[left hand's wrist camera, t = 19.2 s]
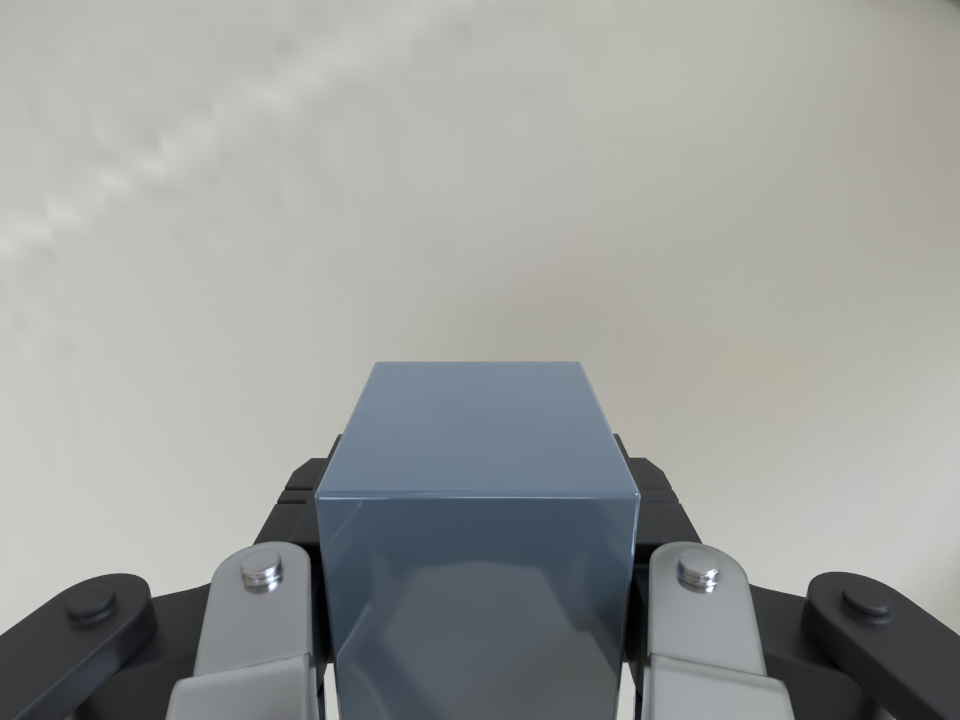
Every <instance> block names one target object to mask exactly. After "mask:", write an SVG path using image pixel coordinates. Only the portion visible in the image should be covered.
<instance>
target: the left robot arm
mask: <svg viewBox="0 0 960 720" xmlns="http://www.w3.org/2000/svg"><path fill="white" fill-rule="evenodd" d="M342 435H343V434H339V435H338V437H337V439H336V441H335V443H334V445H333V447H332V449H331V451H330V453H329V456H328V458H311V459H310V460H309V461H307V462H306V463H305V464H303V465H302V466H301V467H299V468H298V469H297V470H295V471H294V472H293V474H292V475H291V477H290V479H289V481H288V483H287V484H286V486H285V491H283V492H282V493H281V495H280V497H279V499H278V501H277V504H275V506H274V508H273V510H272V511H271V513H270V515H269V517H268V519H267V520H266V522H265V524H264V526H263V528H262V529H261V531H260V533H259V535H258V537H257V538H256V540H255V542H254V544H253V545H252V546H249V547H247V548H244V549H242V550H240V551H238V552H236V553H234V554H233V555H231V556H230V557H228V558H227V559H226V560H224V561H223V562H222V563H221V564H220V565H219V567H218V568H217V569H216V571H215V573H214V575H213V578H212V581H211V583H209V584H206V585H203V586H201V587H197V588H194V589H190V590H186V591H181V592H176V593H172V594H167V595H163V596H158V597H154V598H152V597H151V593H150V589H149V586H148V584H147V582H146V581H145V580H144V579H142V578H141V577H139V576H136V575H132V574H123V573H118V574H108V575H102V576H98V577H95V578H91V579H88V580H85V581H83V582H80V583H78V584H76V585H74V586H72V587H70V588H68V589H66V590H64V591H63V592H61V593H59V594H58V595H56V596H55V597H54V598H52V599H51V600H49V601H48V602H47V603H45V604H44V605H42V606H41V607H40V608H38V609H37V610H35V611H34V612H33V613H31V614H30V615H28V616H27V617H26V618H24V619H23V620H22V621H20V622H19V623H17V624H16V625H15V626H13V627H12V628H10V629H9V630H8V631H6V632H5V633H3V634H2V635H1V636H0V720H327V702H326V692H325V683H324V674H325V670H326V667H327V663H333V659H332V650H331V641H330V632H329V623H328V614H327V605H326V595H325V586H324V577H323V568H322V559H321V550H320V541H319V532H318V523H317V513H316V504H315V494H316V492H317V489H318V487H319V485H320V483H321V481H322V478H323V476H324V474H325V472H326V470H327V468H328V465H329V463H330V461H331V459H332V457H333V454H334V452H335V450H336V448H337V446H338V444H339V441H340V439H341V437H342ZM613 435H614V437H615V439H616V442H617V444H618V446H619V448H620V450H621V453H622V455H623V457H624V459H625V461H626V464H627V466H628V468H629V470H630V473H631V475H632V477H633V479H634V481H635V484H636V486H637V488H638V490H639V493H640V495H641V500H640V509H639V518H638V528H637V537H636V546H635V556H634V565H633V574H632V584H631V593H630V602H629V612H628V621H627V630H626V639H625V649H624V658H623V662H628V664H629V667H630V671H631V674H632V678H633V681H634V684H635V691H634V701H633V720H895V719H896V720H960V636H959V635H958V634H957V633H955V632H954V631H952V630H951V629H950V628H948V627H947V626H945V625H944V624H943V623H941V622H940V621H938V620H937V619H936V618H934V617H933V616H932V615H930V614H929V613H927V612H926V611H925V610H923V609H922V608H920V607H919V606H918V605H916V604H915V603H913V602H912V601H911V600H909V599H908V598H906V597H905V596H904V595H902V594H901V593H899V592H898V591H896V590H895V589H893V588H891V587H889V586H887V585H886V584H883V583H881V582H879V581H877V580H874V579H871V578H869V577H866V576H862V575H858V574H854V573H848V572H828V573H823V574H820V575H817V576H816V577H814V578H813V579H812V580H811V582H810V583H809V586H808V590H807V595H806V598H805V597H801V596H796V595H792V594H787V593H783V592H778V591H774V590H769V589H765V588H761V587H757V586H754V585H751V584H749V582H748V578H747V575H746V573H745V571H744V569H743V568H742V567H741V566H740V564H739V563H738V562H737V561H735V560H734V559H733V558H732V557H730V556H729V555H727V554H726V553H724V552H722V551H720V550H718V549H716V548H713V547H711V546H708V545H704V544H702V542H701V540H700V538H699V536H698V535H697V533H696V531H695V529H694V527H693V525H692V524H691V522H690V520H689V518H688V516H687V514H686V513H685V511H684V509H683V507H682V505H681V504H679V500H678V498H677V496H676V494H675V493H674V491H673V490H672V489H671V488H672V487H671V485H670V483H669V482H668V480H667V478H666V476H665V474H664V472H663V471H662V470H660V469H659V468H658V467H656V466H655V465H654V464H652V463H651V462H650V461H649V460H647V459H646V458H629V456H628V454H627V452H626V450H625V448H624V446H623V443H622V441H621V439H620V437H619V435H618V434H613Z"/></svg>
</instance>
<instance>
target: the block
mask: <svg viewBox="0 0 960 720" xmlns="http://www.w3.org/2000/svg"><path fill="white" fill-rule="evenodd" d="M640 500H641V495H640V493H639V490H638V488H637V486H636V484H635V481H634V479H633V477H632V475H631V473H630V470H629V468H628V466H627V464H626V461H625V459H624V457H623V455H622V453H621V450H620V448H619V446H618V444H617V442H616V439H615V437H614V435H613V433H612V430H611V428H610V426H609V424H608V422H607V419H606V417H605V415H604V413H603V411H602V408H601V406H600V404H599V402H598V399H597V397H596V395H595V393H594V391H593V388H592V386H591V384H590V382H589V380H588V377H587V375H586V373H585V371H584V368H583V366H582V364H581V363H579V362H377V363H375V365H374V367H373V369H372V372H371V374H370V376H369V378H368V380H367V383H366V385H365V387H364V389H363V391H362V393H361V396H360V398H359V400H358V402H357V404H356V407H355V409H354V411H353V413H352V415H351V417H350V420H349V422H348V424H347V426H346V428H345V431H344V433H343V435H342V437H341V439H340V441H339V444H338V446H337V448H336V450H335V452H334V454H333V457H332V459H331V461H330V463H329V465H328V468H327V470H326V472H325V474H324V476H323V478H322V481H321V483H320V485H319V487H318V489H317V492H316V494H315V504H316V513H317V523H318V532H319V541H320V550H321V559H322V568H323V577H324V586H325V595H326V605H327V614H328V623H329V632H330V641H331V650H332V659H333V668H334V677H335V687H336V696H337V705H338V714H339V720H617V714H618V705H619V695H620V686H621V677H622V667H623V658H624V649H625V639H626V630H627V621H628V612H629V602H630V593H631V584H632V574H633V565H634V556H635V546H636V537H637V528H638V518H639V509H640Z"/></svg>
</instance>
